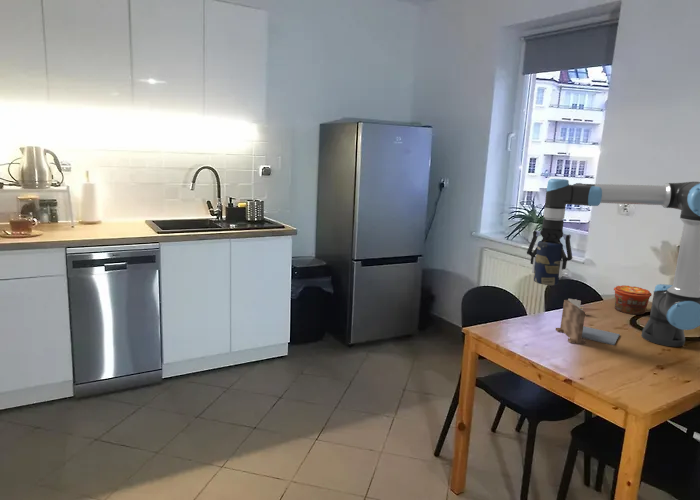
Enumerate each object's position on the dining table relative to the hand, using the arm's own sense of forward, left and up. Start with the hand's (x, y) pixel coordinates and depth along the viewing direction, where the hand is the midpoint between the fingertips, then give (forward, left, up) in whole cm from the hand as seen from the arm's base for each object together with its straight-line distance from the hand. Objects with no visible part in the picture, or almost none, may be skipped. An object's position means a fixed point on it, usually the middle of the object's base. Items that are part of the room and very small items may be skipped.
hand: (546, 274), depth 202 cm
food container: (-26, -65, -25) cm, 74 cm away
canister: (0, 0, -4) cm, 4 cm away
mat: (-20, -15, -25) cm, 35 cm away
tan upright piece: (-11, -6, -25) cm, 28 cm away
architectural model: (-5, -40, -26) cm, 48 cm away
